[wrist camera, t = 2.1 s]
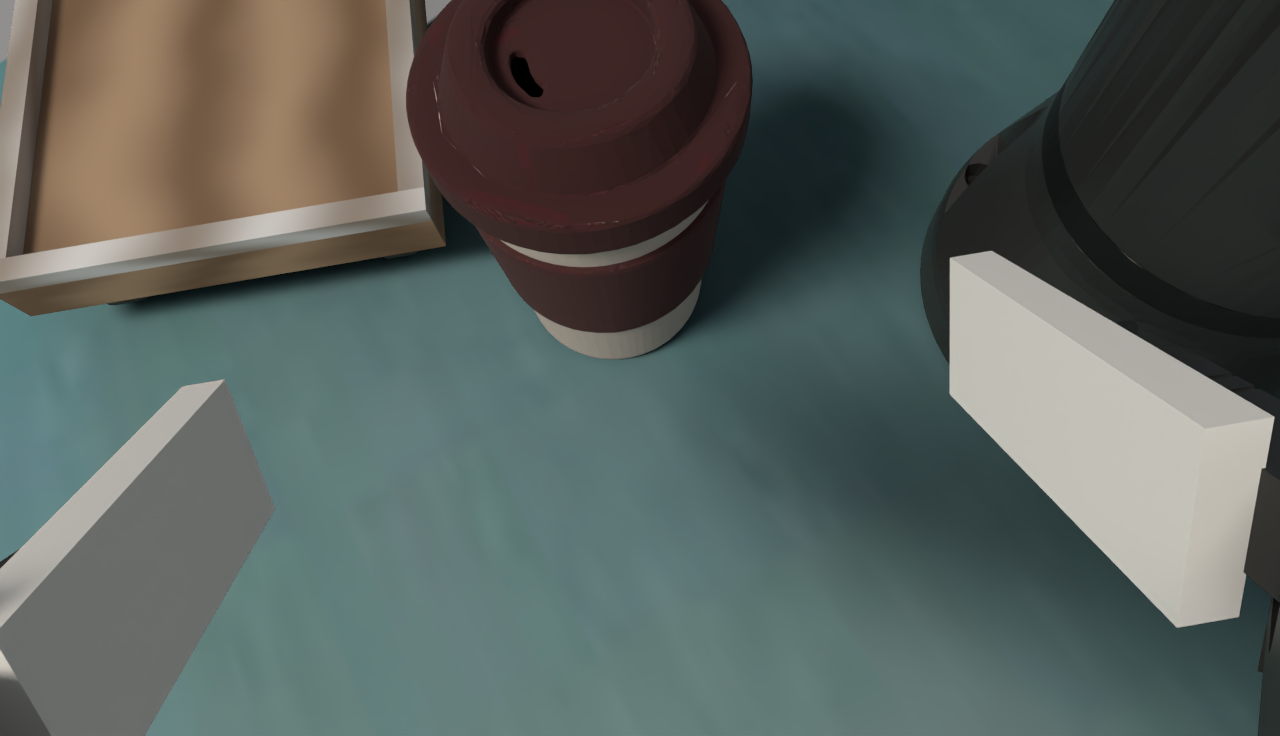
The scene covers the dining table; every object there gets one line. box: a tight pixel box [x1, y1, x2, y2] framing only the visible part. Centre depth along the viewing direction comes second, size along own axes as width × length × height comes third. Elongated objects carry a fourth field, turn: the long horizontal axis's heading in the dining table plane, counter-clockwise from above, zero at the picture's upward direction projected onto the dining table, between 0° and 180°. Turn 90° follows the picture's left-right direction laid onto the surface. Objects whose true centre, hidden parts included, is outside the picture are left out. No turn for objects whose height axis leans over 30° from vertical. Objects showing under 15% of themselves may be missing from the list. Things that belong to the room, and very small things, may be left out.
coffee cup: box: [406, 0, 753, 359], centre depth 29 cm, size 10×10×15 cm
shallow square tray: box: [0, 0, 446, 316], centre depth 37 cm, size 17×17×6 cm
